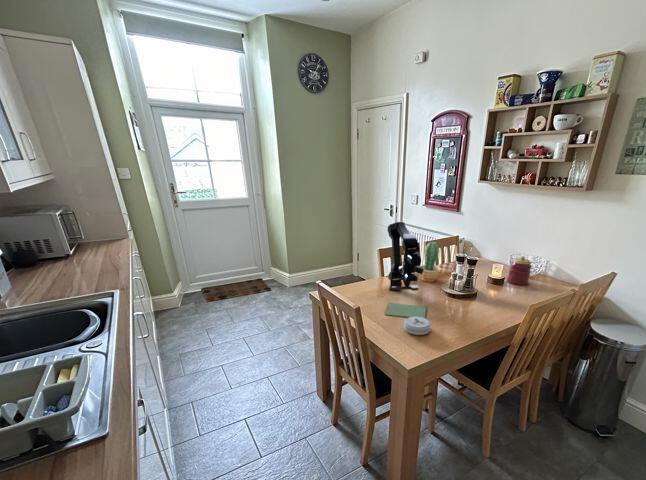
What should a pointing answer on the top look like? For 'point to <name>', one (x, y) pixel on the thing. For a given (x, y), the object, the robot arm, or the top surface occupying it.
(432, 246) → the potted cactus
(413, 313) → the placemat
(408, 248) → the robot arm
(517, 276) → the kitchen canister
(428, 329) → the lid
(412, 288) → the spoon
